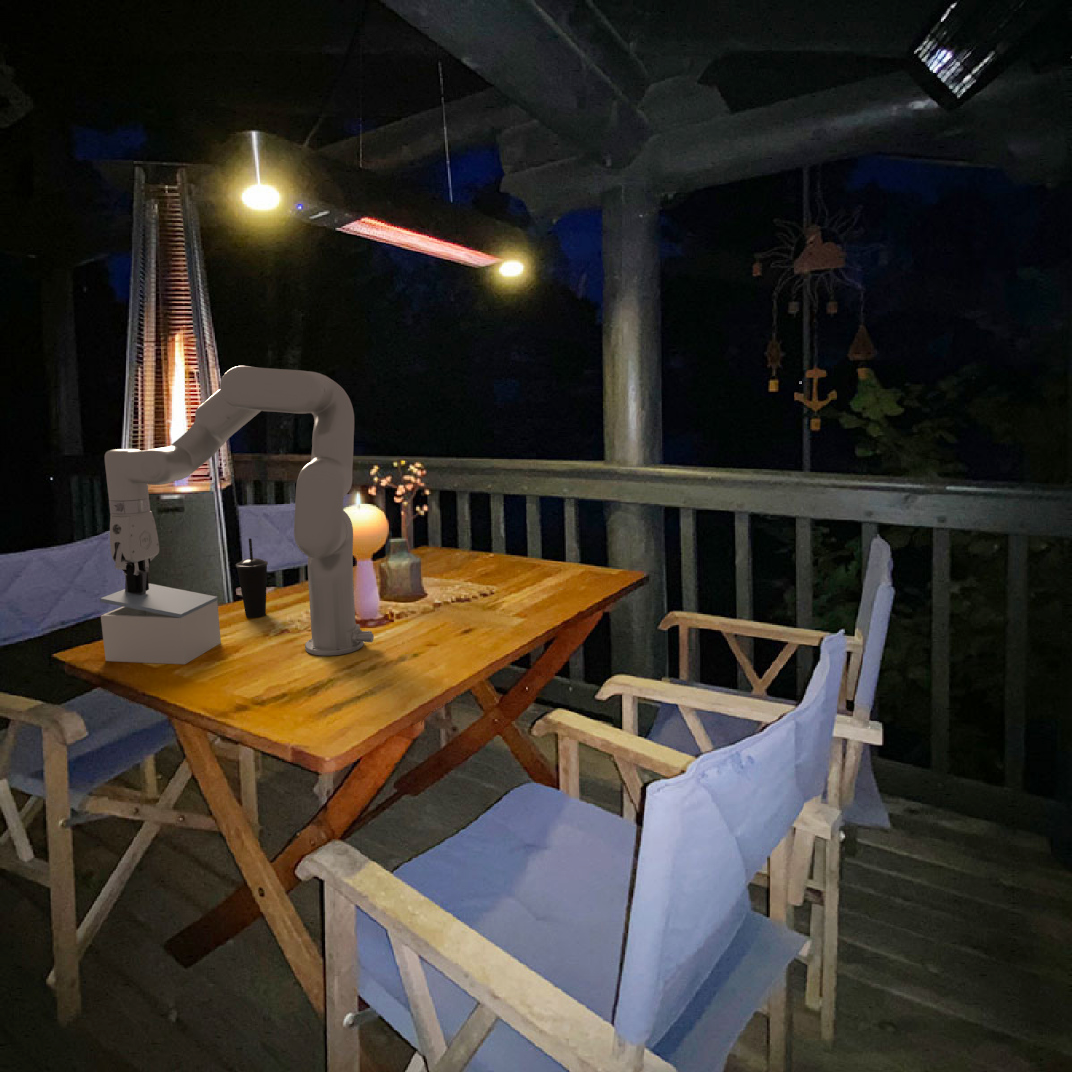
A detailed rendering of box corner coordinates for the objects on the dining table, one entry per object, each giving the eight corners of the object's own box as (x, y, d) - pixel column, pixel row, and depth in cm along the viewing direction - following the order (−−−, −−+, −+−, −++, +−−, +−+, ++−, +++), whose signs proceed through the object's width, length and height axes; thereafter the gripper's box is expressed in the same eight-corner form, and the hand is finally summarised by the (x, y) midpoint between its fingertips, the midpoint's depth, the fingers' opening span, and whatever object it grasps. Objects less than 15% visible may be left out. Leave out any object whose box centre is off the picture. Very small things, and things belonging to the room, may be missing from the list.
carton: (220, 642, 170) (217, 600, 168) (185, 664, 157) (180, 618, 155) (147, 640, 172) (143, 598, 171) (105, 661, 159) (100, 615, 157)
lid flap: (217, 600, 168) (219, 575, 167) (180, 617, 155) (182, 591, 154) (142, 585, 170) (144, 561, 169) (100, 601, 156) (101, 575, 155)
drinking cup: (238, 620, 187) (232, 542, 184) (241, 612, 195) (235, 536, 191) (270, 618, 189) (264, 540, 186) (272, 610, 197) (267, 535, 193)
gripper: (122, 513, 151) (131, 601, 155) (168, 502, 166) (175, 583, 170) (88, 512, 152) (97, 600, 156) (137, 502, 167) (145, 582, 171)
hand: (138, 590), depth 163 cm, fingers closed
